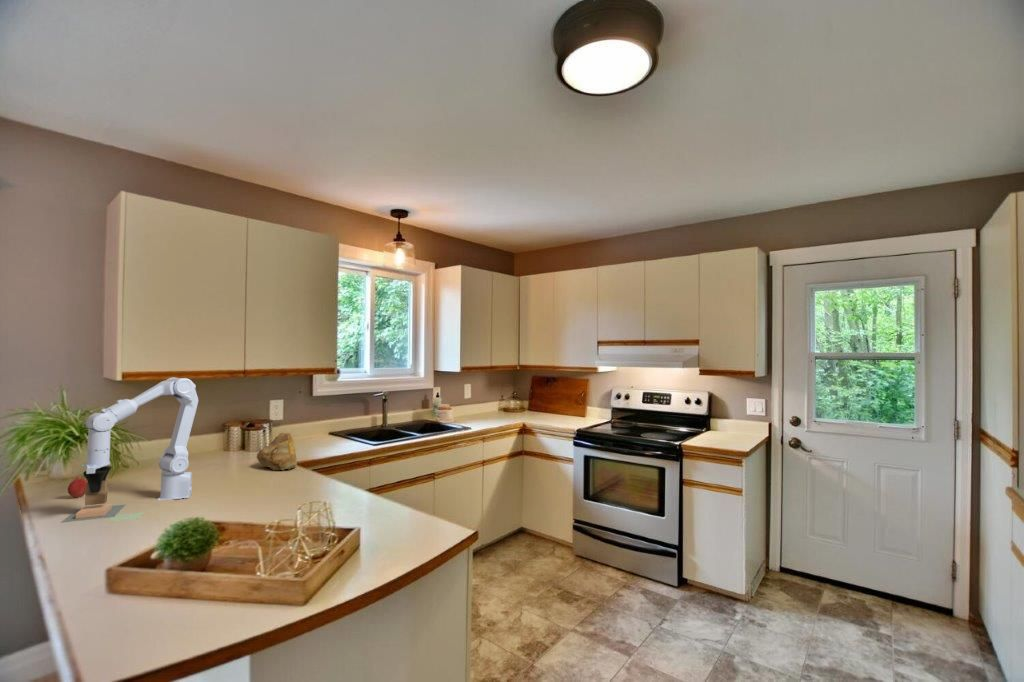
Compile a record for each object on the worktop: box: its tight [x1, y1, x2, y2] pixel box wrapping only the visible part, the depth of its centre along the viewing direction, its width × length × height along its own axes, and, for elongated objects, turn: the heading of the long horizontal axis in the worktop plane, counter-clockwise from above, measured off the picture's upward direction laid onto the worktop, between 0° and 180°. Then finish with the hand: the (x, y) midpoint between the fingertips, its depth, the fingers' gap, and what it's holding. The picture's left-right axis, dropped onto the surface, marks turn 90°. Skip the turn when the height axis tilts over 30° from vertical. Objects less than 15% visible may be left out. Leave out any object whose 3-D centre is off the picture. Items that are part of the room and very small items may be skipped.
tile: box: [76, 503, 113, 519], centre depth 154 cm, size 7×2×8 cm
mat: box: [60, 504, 127, 523], centre depth 155 cm, size 13×14×1 cm
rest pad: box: [107, 511, 145, 523], centre depth 152 cm, size 8×7×1 cm
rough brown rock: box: [256, 432, 298, 471], centre depth 224 cm, size 23×17×15 cm
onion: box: [67, 475, 88, 499], centre depth 171 cm, size 6×6×8 cm
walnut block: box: [84, 479, 109, 507], centre depth 155 cm, size 5×3×7 cm, turn 117°
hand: (96, 491), depth 156 cm, fingers closed on walnut block, 3 cm apart
